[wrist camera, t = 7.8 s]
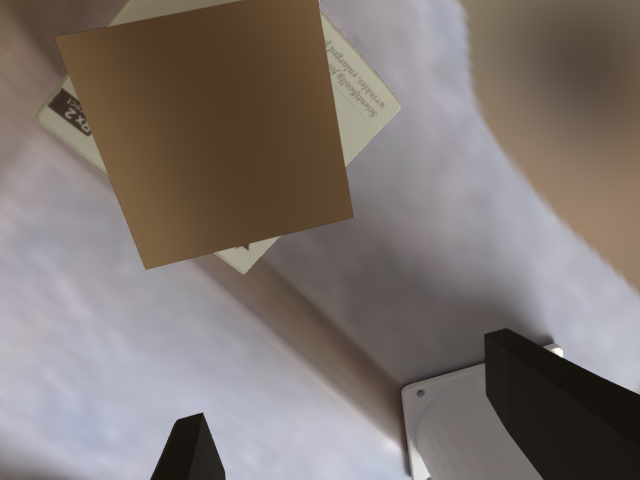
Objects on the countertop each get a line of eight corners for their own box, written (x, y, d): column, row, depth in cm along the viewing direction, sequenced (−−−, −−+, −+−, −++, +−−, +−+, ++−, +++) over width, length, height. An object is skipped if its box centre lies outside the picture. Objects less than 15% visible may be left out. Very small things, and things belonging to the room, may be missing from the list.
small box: (364, 91, 19) (411, 109, 15) (237, 226, 21) (243, 283, 16) (214, -74, 16) (214, -117, 12) (73, 98, 17) (23, 122, 13)
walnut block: (287, -2, 13) (315, -15, 9) (320, 172, 15) (353, 217, 11) (101, 35, 12) (54, 37, 9) (163, 210, 14) (145, 269, 11)
